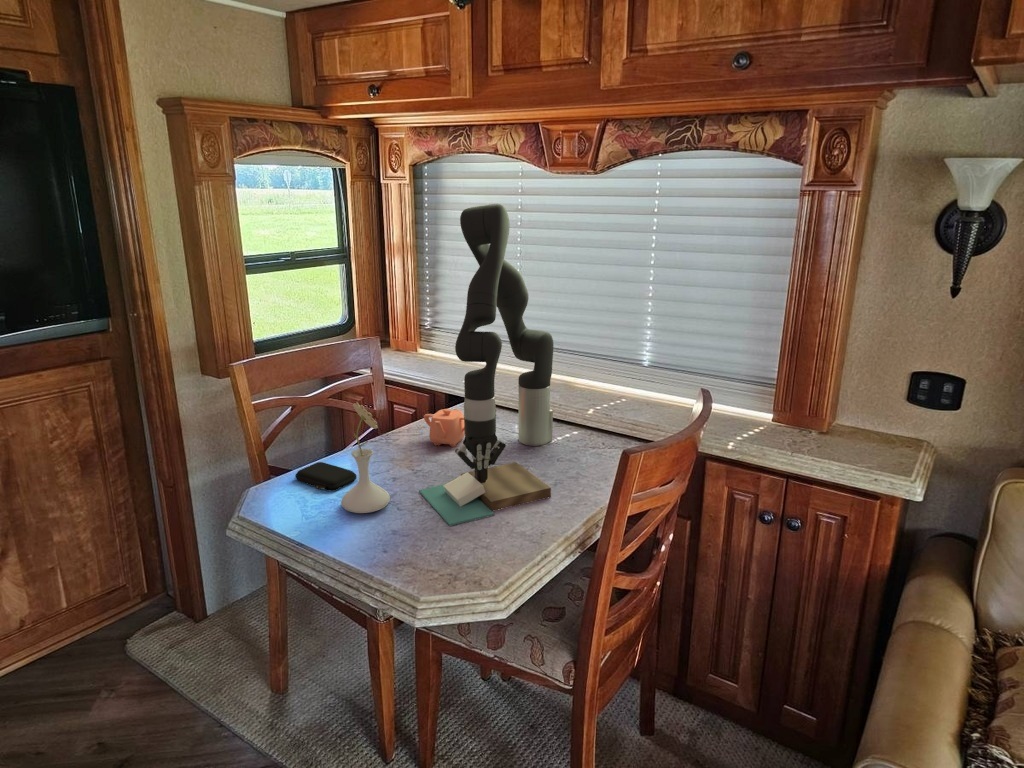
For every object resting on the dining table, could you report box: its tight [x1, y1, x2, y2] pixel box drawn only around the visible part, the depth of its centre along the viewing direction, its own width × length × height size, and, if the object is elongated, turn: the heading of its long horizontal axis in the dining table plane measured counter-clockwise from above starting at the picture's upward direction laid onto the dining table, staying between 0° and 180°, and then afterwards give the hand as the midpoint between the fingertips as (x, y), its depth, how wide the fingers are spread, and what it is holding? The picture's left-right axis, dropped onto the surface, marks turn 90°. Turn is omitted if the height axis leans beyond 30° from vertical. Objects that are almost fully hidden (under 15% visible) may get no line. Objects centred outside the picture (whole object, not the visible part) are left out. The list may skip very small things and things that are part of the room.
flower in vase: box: [340, 401, 391, 514], centre depth 159 cm, size 13×11×25 cm
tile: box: [442, 471, 485, 507], centre depth 165 cm, size 7×9×2 cm
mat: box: [418, 483, 495, 527], centre depth 163 cm, size 11×20×1 cm, turn 27°
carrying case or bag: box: [294, 461, 357, 492], centre depth 175 cm, size 11×3×15 cm
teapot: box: [423, 408, 465, 448], centre depth 200 cm, size 14×12×10 cm
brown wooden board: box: [460, 461, 552, 512], centre depth 170 cm, size 16×18×2 cm
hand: (481, 481), depth 166 cm, fingers closed
